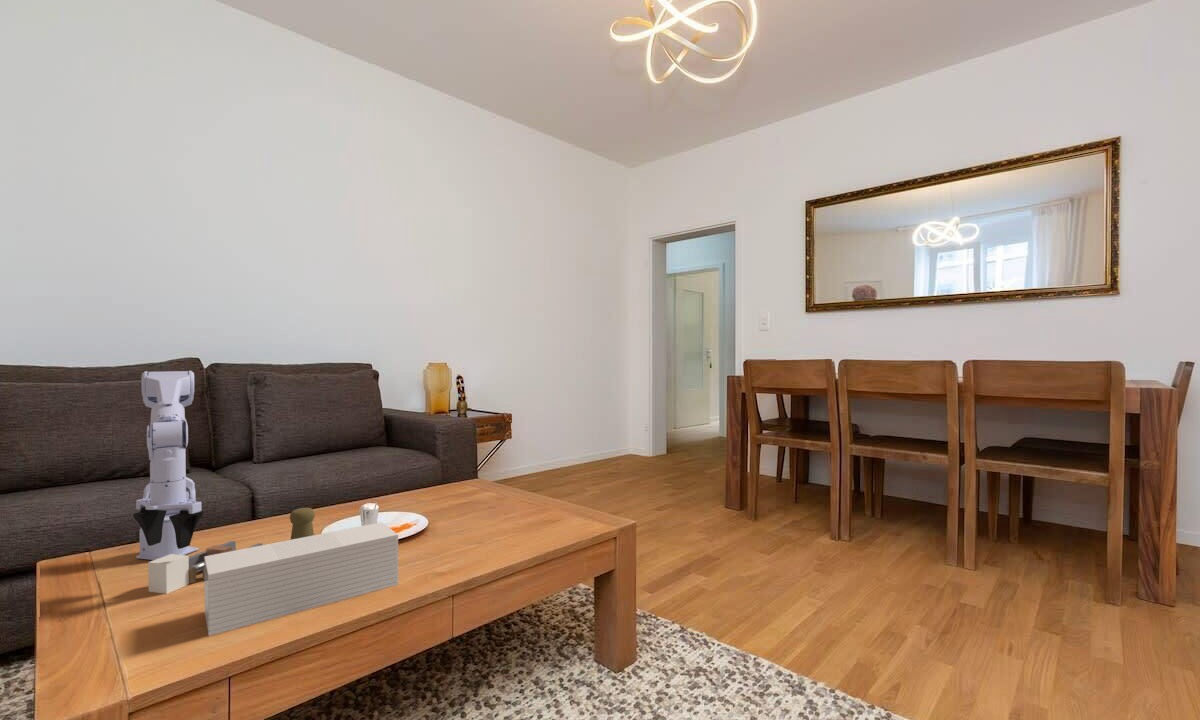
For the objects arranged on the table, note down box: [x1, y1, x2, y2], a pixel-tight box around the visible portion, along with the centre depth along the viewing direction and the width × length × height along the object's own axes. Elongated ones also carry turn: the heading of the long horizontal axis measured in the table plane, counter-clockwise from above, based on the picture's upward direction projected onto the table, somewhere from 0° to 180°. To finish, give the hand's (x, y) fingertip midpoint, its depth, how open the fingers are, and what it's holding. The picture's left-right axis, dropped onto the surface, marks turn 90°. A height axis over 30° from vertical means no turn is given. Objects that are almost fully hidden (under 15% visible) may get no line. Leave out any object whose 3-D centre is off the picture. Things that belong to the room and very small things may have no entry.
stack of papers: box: [203, 521, 399, 637], centre depth 106 cm, size 32×11×11 cm, turn 129°
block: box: [147, 554, 190, 594], centre depth 111 cm, size 5×5×6 cm
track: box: [189, 540, 264, 581], centre depth 122 cm, size 9×14×3 cm, turn 167°
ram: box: [189, 545, 232, 584], centre depth 118 cm, size 6×10×4 cm, turn 167°
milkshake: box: [359, 501, 380, 526], centre depth 139 cm, size 4×5×10 cm
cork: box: [289, 507, 316, 540], centre depth 129 cm, size 6×6×11 cm
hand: (169, 545), depth 111 cm, fingers open, 7 cm apart
